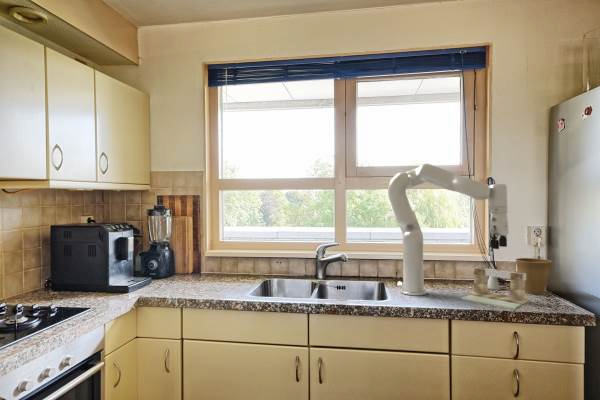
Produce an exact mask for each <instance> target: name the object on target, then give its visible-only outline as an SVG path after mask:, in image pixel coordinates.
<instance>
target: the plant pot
mask: <svg viewBox="0 0 600 400" xmlns="http://www.w3.org/2000/svg"><path fill="white" fill-rule="evenodd" d="M515 262H516V269H517V271H519V272H525V273H526V280H525V294H531V295H543V294H544V292H545V291H546V290H545V289H546V288H547V285H548V281H549V278H550V274H551V269H552V260H550V259H543V258H533V257H531V258H530V257H520V258H516V259H515Z"/></svg>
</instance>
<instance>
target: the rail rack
mask: <svg viewBox="0 0 600 400" xmlns="http://www.w3.org/2000/svg"><path fill="white" fill-rule="evenodd" d="M477 267H478V268H474V267H473V268H474V274H473V292H471V293H470V295H472V296H478V297H484V298H489V299H495V300H500V301H506V302H511V303H517V304H521V305H525V304H526V303H528V302H529V298H526V292H525V281H522V280H521V274H519V273H525V272H519V271H518V270H515V271H513V272H518V273H510V279H509V280H510V283H509V285H510V288H509V289H510V295H508V294H507V295H506V294H501V293H495V292H489V291H488V290H489V289H488V279H489V276H486V275H484V271H483V269H480V268H486V269H489V267H484V266H477Z"/></svg>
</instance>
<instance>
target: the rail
mask: <svg viewBox="0 0 600 400" xmlns="http://www.w3.org/2000/svg"><path fill="white" fill-rule="evenodd" d="M478 267H479V266H475V267H473V268H472V274H473V275H474V268H478ZM486 268H487V267H486ZM486 268H480V269H483V271H484V275H486V276H488V277H489V276H493V277H496V278H502V279H509V280H510V273H518V272H514V271H509V270H502V269H501V270H500V269H496V270H494V269H495V268H488V269H486ZM519 274H521V280H522V281H525V280H526V273H519Z"/></svg>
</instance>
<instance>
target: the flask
mask: <svg viewBox="0 0 600 400" xmlns="http://www.w3.org/2000/svg"><path fill="white" fill-rule="evenodd" d="M493 269H494V270H497V269H495V268H493ZM488 290H494V291H499V290H501V285H500V283H499V280H498V277H493V276H488Z"/></svg>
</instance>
